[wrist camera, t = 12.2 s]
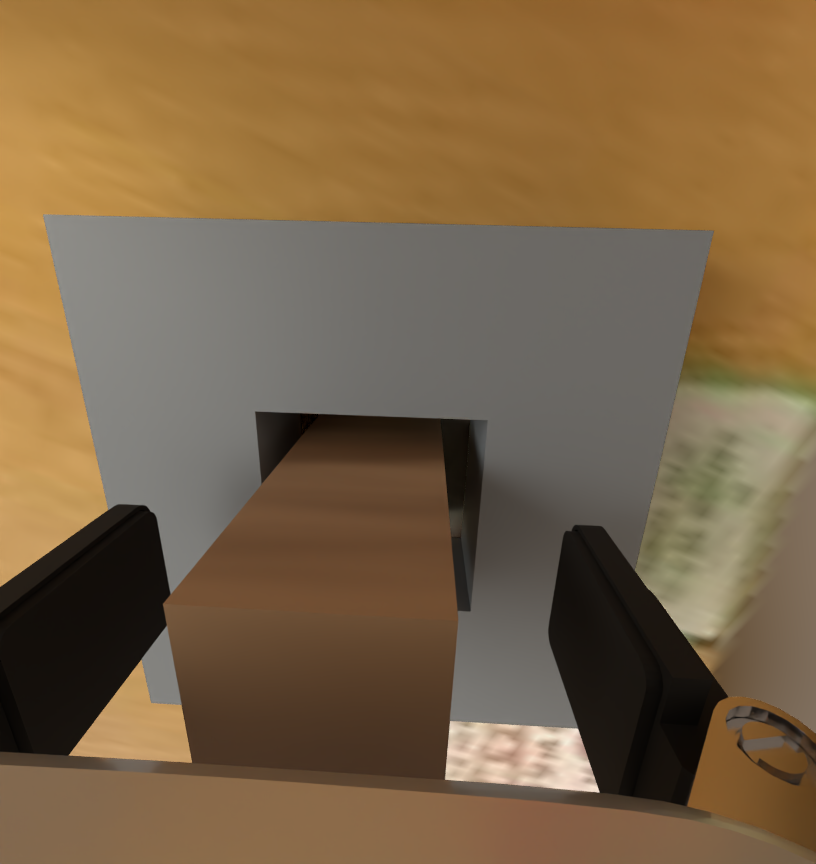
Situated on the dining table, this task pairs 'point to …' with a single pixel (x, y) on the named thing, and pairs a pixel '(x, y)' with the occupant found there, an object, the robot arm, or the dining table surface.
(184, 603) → the square peg
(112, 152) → the dining table surface
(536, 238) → the socket block
